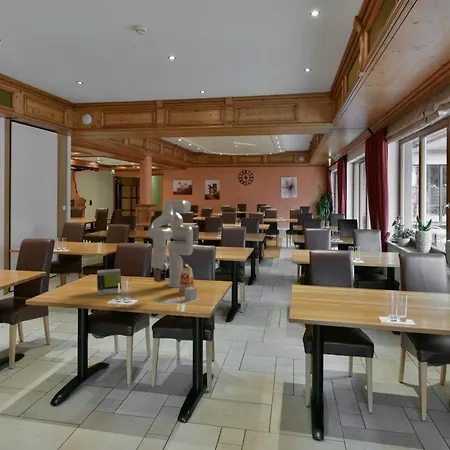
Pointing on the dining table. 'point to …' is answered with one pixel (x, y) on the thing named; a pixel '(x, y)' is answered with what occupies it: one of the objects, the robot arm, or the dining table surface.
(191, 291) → the grey block
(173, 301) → the code tile
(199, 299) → the code tile
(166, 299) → the coaster
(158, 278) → the walnut block
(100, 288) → the tea box
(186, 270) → the milk carton
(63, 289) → the dining table surface
